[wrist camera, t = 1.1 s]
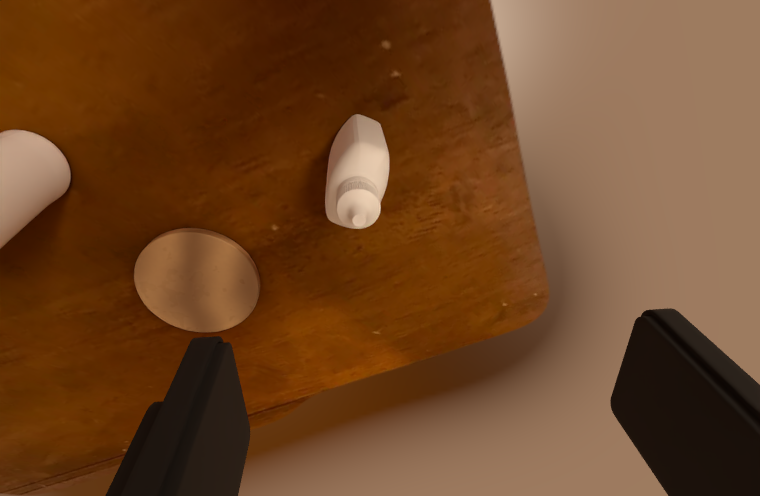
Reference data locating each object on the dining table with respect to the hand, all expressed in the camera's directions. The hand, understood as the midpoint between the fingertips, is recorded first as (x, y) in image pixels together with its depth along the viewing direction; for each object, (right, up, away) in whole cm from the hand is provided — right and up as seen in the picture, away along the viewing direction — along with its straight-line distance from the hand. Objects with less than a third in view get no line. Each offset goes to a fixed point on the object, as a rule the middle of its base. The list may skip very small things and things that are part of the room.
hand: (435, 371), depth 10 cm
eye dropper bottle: (-3, +10, +23) cm, 25 cm away
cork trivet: (-16, 0, +27) cm, 32 cm away
